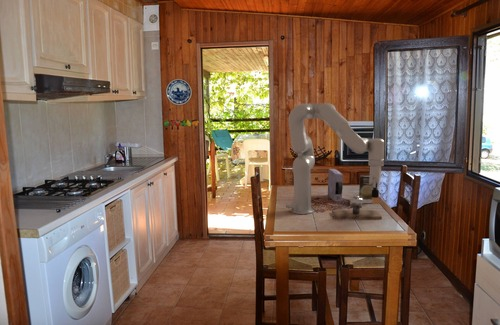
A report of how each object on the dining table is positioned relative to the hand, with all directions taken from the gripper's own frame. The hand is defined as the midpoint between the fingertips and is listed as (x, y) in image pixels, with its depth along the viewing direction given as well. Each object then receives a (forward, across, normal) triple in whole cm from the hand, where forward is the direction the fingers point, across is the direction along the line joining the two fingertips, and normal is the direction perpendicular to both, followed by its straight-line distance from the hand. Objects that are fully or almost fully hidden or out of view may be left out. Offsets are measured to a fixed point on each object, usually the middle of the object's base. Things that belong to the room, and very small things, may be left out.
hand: (375, 197), depth 212 cm
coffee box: (+11, -33, -8) cm, 36 cm away
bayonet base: (+11, 0, -10) cm, 15 cm away
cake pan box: (+11, -35, -28) cm, 46 cm away
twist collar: (+5, -2, -6) cm, 8 cm away
